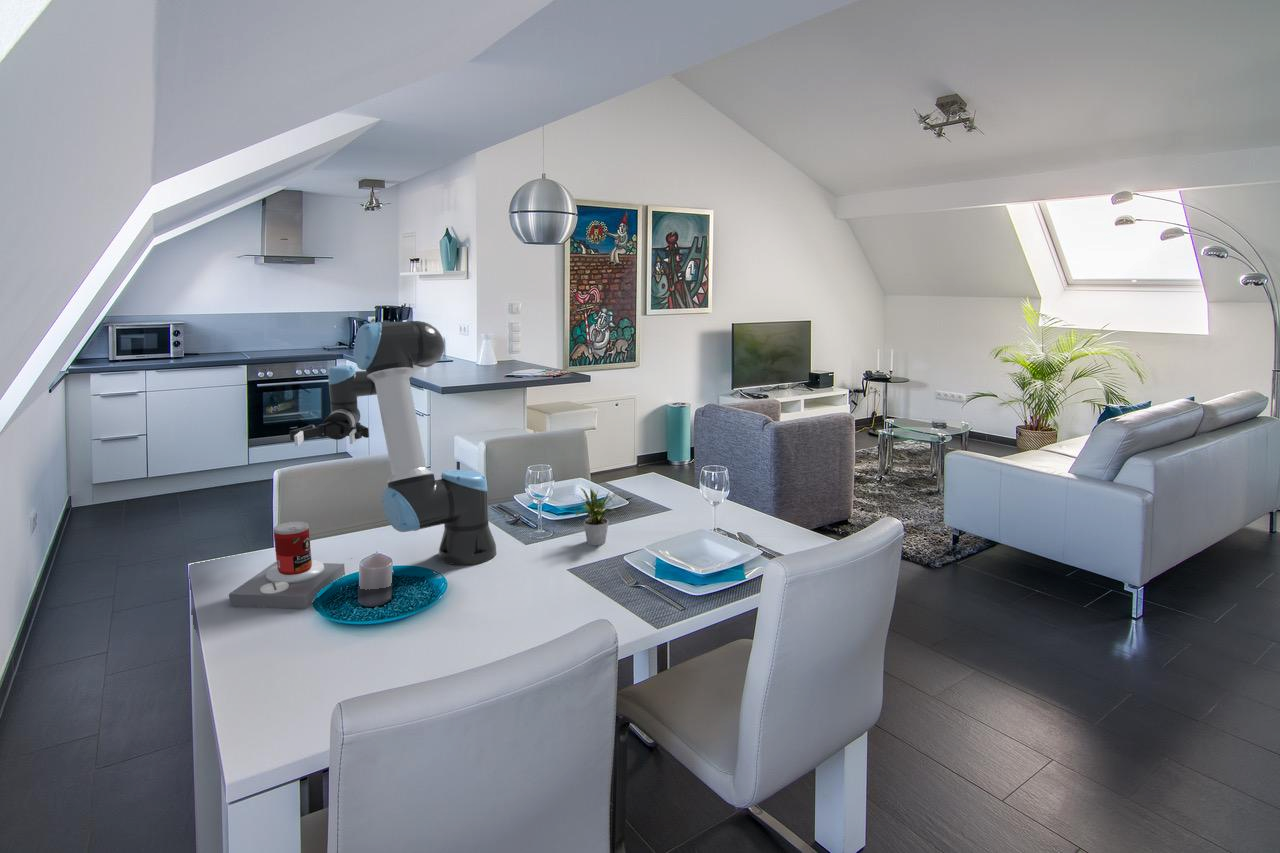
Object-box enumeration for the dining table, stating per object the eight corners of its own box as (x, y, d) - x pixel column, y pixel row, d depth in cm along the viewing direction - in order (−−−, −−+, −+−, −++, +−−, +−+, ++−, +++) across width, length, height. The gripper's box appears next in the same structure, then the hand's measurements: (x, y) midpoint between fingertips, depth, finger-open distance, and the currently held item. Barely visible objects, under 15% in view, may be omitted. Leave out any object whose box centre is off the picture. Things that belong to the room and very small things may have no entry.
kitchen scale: (345, 574, 196) (343, 560, 195) (305, 608, 176) (304, 592, 175) (276, 572, 197) (275, 558, 196) (230, 606, 178) (228, 589, 177)
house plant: (556, 542, 219) (555, 486, 216) (590, 530, 229) (590, 476, 226) (592, 554, 210) (592, 496, 207) (626, 540, 220) (626, 485, 217)
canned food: (299, 576, 184) (295, 532, 182) (270, 574, 186) (265, 530, 184) (319, 564, 192) (315, 522, 189) (290, 562, 193) (286, 520, 191)
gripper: (384, 435, 226) (374, 452, 206) (294, 439, 222) (274, 456, 201) (383, 410, 225) (372, 424, 204) (291, 413, 220) (271, 427, 200)
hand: (323, 440), depth 203 cm, fingers open, 13 cm apart
